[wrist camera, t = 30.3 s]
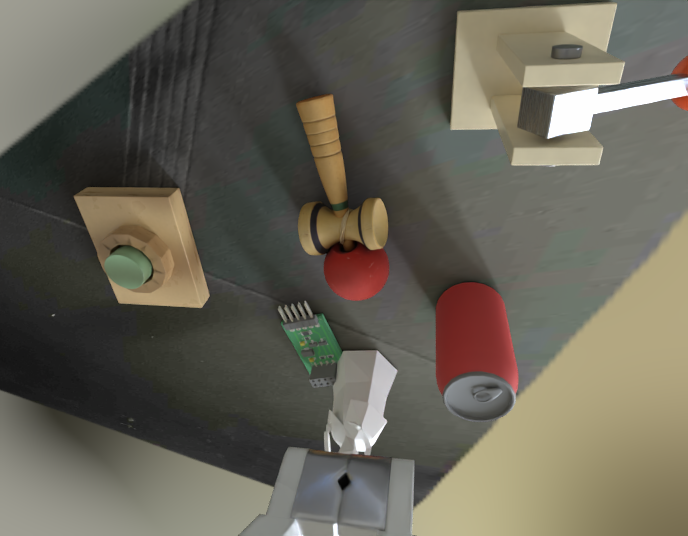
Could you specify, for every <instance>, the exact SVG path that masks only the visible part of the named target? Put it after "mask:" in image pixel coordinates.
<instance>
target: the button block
mask: <svg viewBox="0 0 688 536" xmlns="http://www.w3.org/2000/svg"><path fill="white" fill-rule="evenodd" d="M74 198H75V201H76V203H77V205H78V208H79V210H80V212H81V215H82V217H83V219H84V222H85V224H86V227H87V229H88V231H89V234H90V236H91V238H92V241H93V243H94V245H95V248H96V250H97V253H98V255H97V256H98V258H99V261H100V263H101V265H102V268H103V270H104V272H105V273H106V271H105V267H104V263H105V260H106V259H107V257H109V256H110V255H111V254H112V253H113V252H114V251H115V250H116V249H118V248H119V247H121V246H132V247H135V248H137V249H139V250H141V251H142V252H143V253H144V254H145V255H146V256H147V257H148V258H149V259H150V261H151V263H152V266H153V271H152V274H151V276H150V277H149V278H148V279H147V280H146V281H145V282H144V283H143V284H142V285H141V286H140V287H138V288H136V289H127V288H124V287H121V286H119V285H117V284H116V283H115V282H113V281H112V280H111V279H110V278H109V276H108V275H107V276H108V279H109V281H110V283H111V286H112V288H113V290H114V293H115V295H116V298H117V300H118V302H119V303H126V304H143V305H161V306H178V307H195V308H202V307H203V305H204V304H205V302H206V301H207V299H208V298H209V296H210V295H209V291H208V288H207V284H206V280H205V277H204V273H203V270H202V266H201V263H200V259H199V256H198V252H197V249H196V245H195V241H194V238H193V234H192V231H191V227H190V224H189V220H188V217H187V213H186V209H185V206H184V202H183V199H182V195H181V192H180V188H136V187H87V188H86V189H84V190H82V191H81V192H79V193H78V194H76V195H75V196H74ZM106 274H107V273H106Z"/></svg>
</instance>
